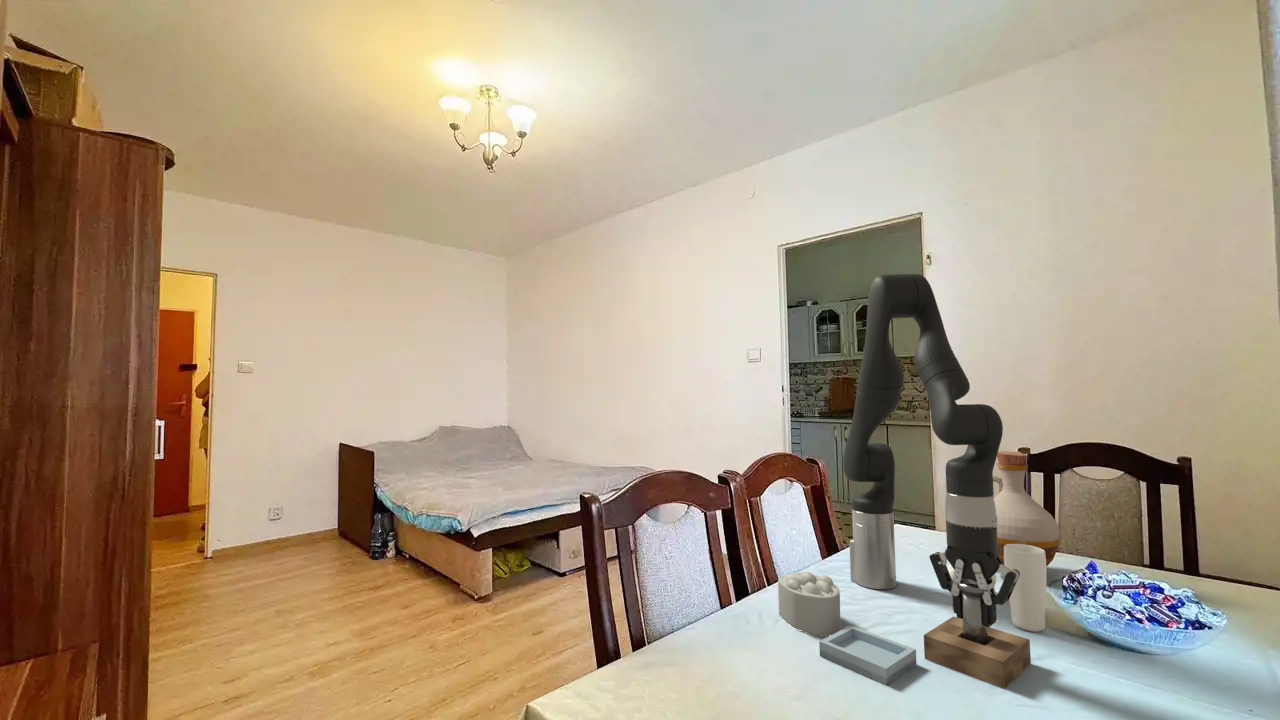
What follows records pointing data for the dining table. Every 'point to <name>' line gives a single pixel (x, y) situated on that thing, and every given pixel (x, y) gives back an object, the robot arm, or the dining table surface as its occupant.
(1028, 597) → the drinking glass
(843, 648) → the tray
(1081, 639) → the dining table surface
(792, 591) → the lumpy-topped squat cylinder
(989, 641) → the socket block
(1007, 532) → the jug
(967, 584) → the pin
